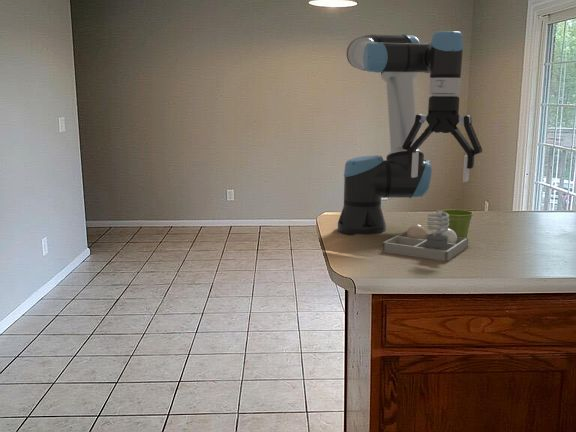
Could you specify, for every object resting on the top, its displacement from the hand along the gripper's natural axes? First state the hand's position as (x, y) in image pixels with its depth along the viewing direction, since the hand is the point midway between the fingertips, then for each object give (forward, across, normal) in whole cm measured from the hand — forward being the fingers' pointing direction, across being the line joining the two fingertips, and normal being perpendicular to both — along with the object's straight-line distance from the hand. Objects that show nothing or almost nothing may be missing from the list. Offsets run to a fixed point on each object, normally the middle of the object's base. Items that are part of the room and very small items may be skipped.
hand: (439, 179), depth 155 cm
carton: (+21, -4, +4) cm, 22 cm away
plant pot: (+21, -1, +20) cm, 29 cm away
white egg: (+20, 0, +8) cm, 22 cm away
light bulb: (+20, 0, 0) cm, 20 cm away
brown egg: (+20, -8, +8) cm, 23 cm away
